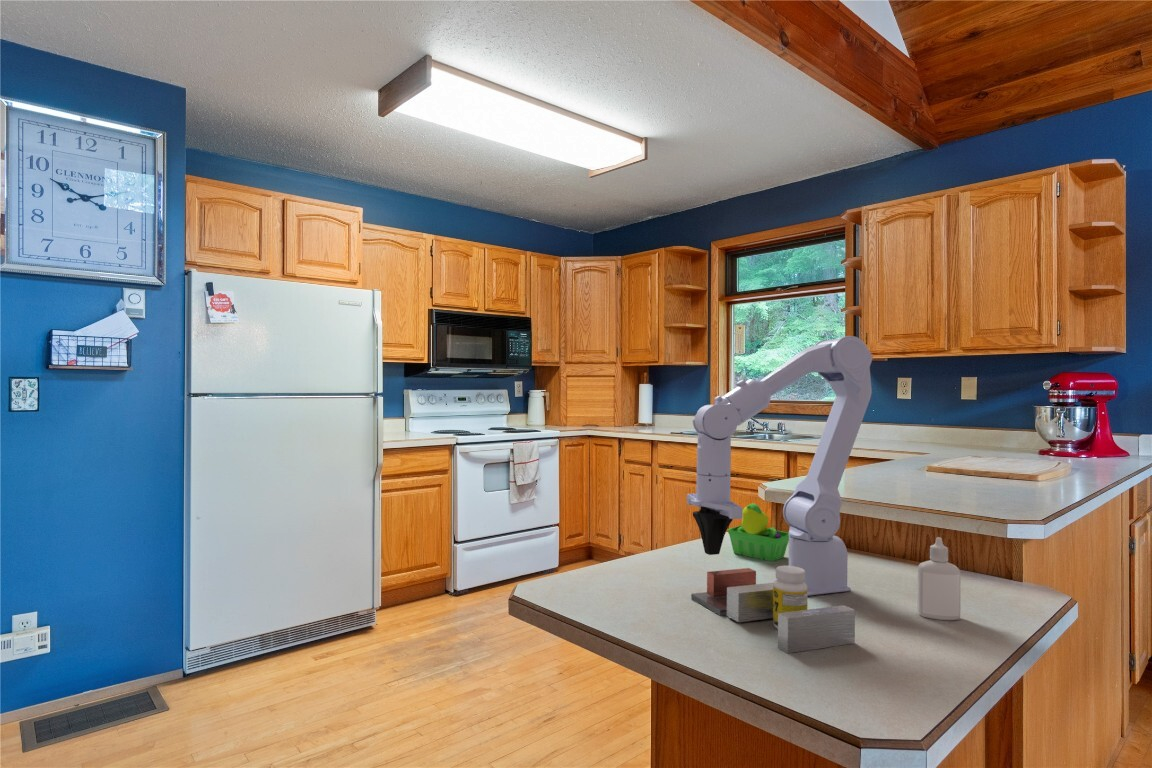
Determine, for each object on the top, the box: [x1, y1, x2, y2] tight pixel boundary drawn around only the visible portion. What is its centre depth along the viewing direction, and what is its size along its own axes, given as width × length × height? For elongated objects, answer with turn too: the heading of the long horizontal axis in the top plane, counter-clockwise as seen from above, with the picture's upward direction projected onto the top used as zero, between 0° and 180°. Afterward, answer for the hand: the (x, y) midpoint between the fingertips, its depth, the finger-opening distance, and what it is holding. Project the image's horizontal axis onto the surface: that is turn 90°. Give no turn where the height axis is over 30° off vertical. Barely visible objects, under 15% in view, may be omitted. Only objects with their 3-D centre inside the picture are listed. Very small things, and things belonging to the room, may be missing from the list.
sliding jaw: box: [706, 567, 774, 623], centre depth 101 cm, size 11×11×4 cm
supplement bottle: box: [772, 565, 809, 630], centre depth 93 cm, size 5×5×8 cm
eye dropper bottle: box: [917, 536, 961, 621], centre depth 99 cm, size 4×6×12 cm
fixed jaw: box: [777, 604, 856, 654], centre depth 86 cm, size 11×2×4 cm, turn 110°
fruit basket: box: [726, 502, 789, 562], centre depth 135 cm, size 11×9×11 cm
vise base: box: [690, 591, 727, 617], centre depth 103 cm, size 12×8×1 cm
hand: (712, 553), depth 111 cm, fingers closed
